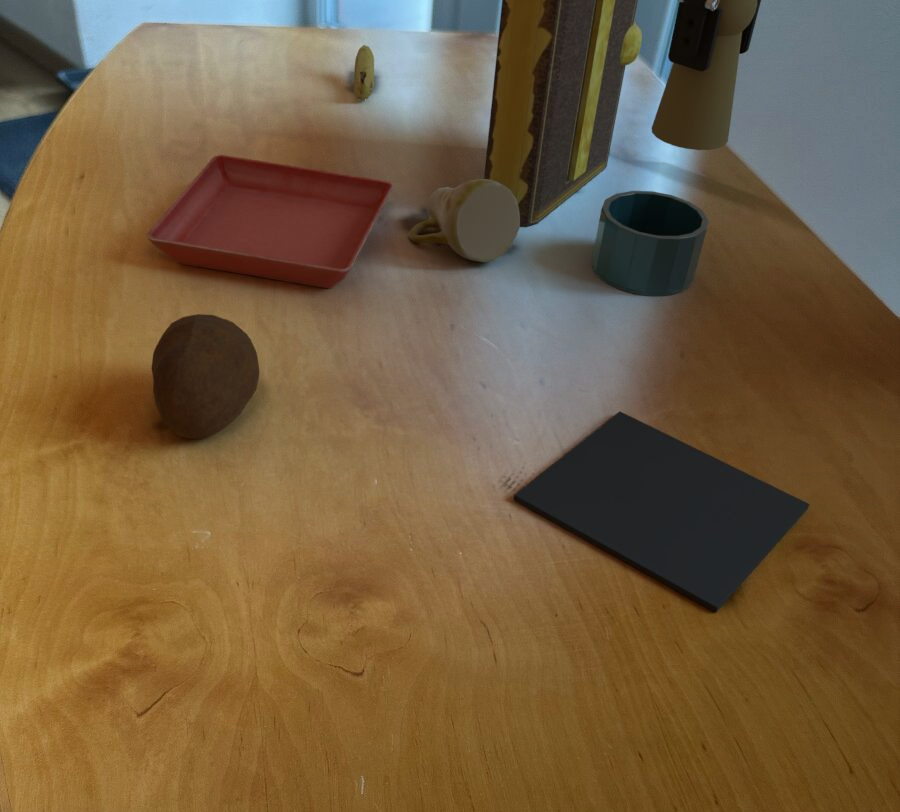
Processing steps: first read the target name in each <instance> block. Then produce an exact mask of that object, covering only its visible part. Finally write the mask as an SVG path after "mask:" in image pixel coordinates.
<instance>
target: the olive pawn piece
mask: <svg viewBox="0 0 900 812" xmlns="http://www.w3.org/2000/svg"><path fill="white" fill-rule="evenodd" d="M717 8H718V9H721V10H723V12H722V16H721V20H720V24H719V29H718V33H717V37H716V41H715V46H714V50H713V54H712V58H711V63H710V66H709V68H708V69H707V70H705V71H698V70H695V69H692V68H688V67H685V66H682V65H679V64H676V63H673V62H672V63H673V64H672V66H671V69H670V71H669V75H668V78H667V81H666V84H665V86H664V90H663V92H662V95H661V97H660V98H661V99H660V102H659V104H658V107H657V111H656V113H655V116H654V119H653V123H652V125H651V133H652V134H653V136H654V137H655V138H657V139H658V140H660V141H662V142H663V143H666V144H668V145H671V146H674V147H677V148H681V149H686V150H693V151H711V150H716V149H717V150H718V149H720V148H723V147H725V146H726V145H727V144H728V142H729V136H730V128H731V121H732V112H733V107H734V98H735V91H736V83H737V77H738V76H737V75H738V67H739V60H740V54H739V53H740V45H741V37H742V31H743V30H744V29H745V28H746V27H747V26H748V25H749V24H750V22H751V20H752V18H753V16H754V14H755V11H756V8H757V0H720V2H719V5H718V7H717Z"/></svg>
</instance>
